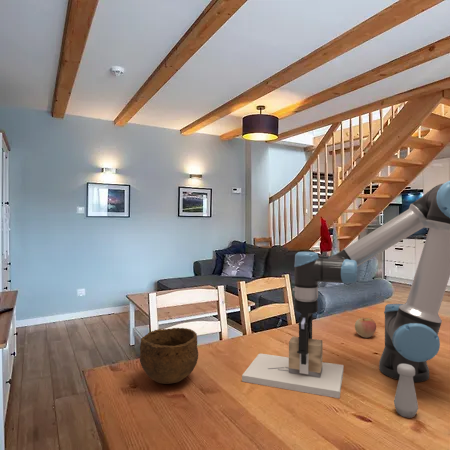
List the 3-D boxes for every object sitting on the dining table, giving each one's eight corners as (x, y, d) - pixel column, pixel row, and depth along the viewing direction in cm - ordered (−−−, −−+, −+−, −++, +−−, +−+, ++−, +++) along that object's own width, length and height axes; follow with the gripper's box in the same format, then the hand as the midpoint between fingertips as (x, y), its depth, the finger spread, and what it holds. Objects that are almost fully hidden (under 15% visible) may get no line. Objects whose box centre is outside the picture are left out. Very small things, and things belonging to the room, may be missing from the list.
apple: (377, 335, 157) (377, 317, 157) (374, 341, 150) (374, 322, 150) (357, 332, 162) (357, 314, 162) (352, 337, 154) (352, 319, 154)
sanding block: (322, 370, 116) (322, 340, 116) (320, 377, 111) (320, 346, 110) (292, 365, 120) (292, 336, 120) (288, 372, 114) (288, 342, 114)
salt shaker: (389, 408, 96) (389, 361, 96) (409, 407, 97) (409, 360, 97) (402, 420, 91) (402, 370, 90) (423, 419, 91) (423, 369, 91)
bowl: (149, 401, 101) (148, 349, 101) (134, 375, 118) (133, 331, 118) (208, 386, 110) (207, 339, 110) (186, 364, 126) (186, 323, 126)
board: (343, 370, 120) (343, 365, 120) (339, 398, 102) (339, 391, 102) (259, 358, 132) (259, 353, 132) (242, 381, 113) (241, 375, 113)
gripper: (299, 292, 125) (299, 357, 125) (288, 304, 107) (288, 379, 108) (321, 294, 122) (320, 360, 123) (313, 306, 105) (313, 383, 105)
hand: (305, 369), depth 115 cm, fingers closed on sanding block, 6 cm apart
